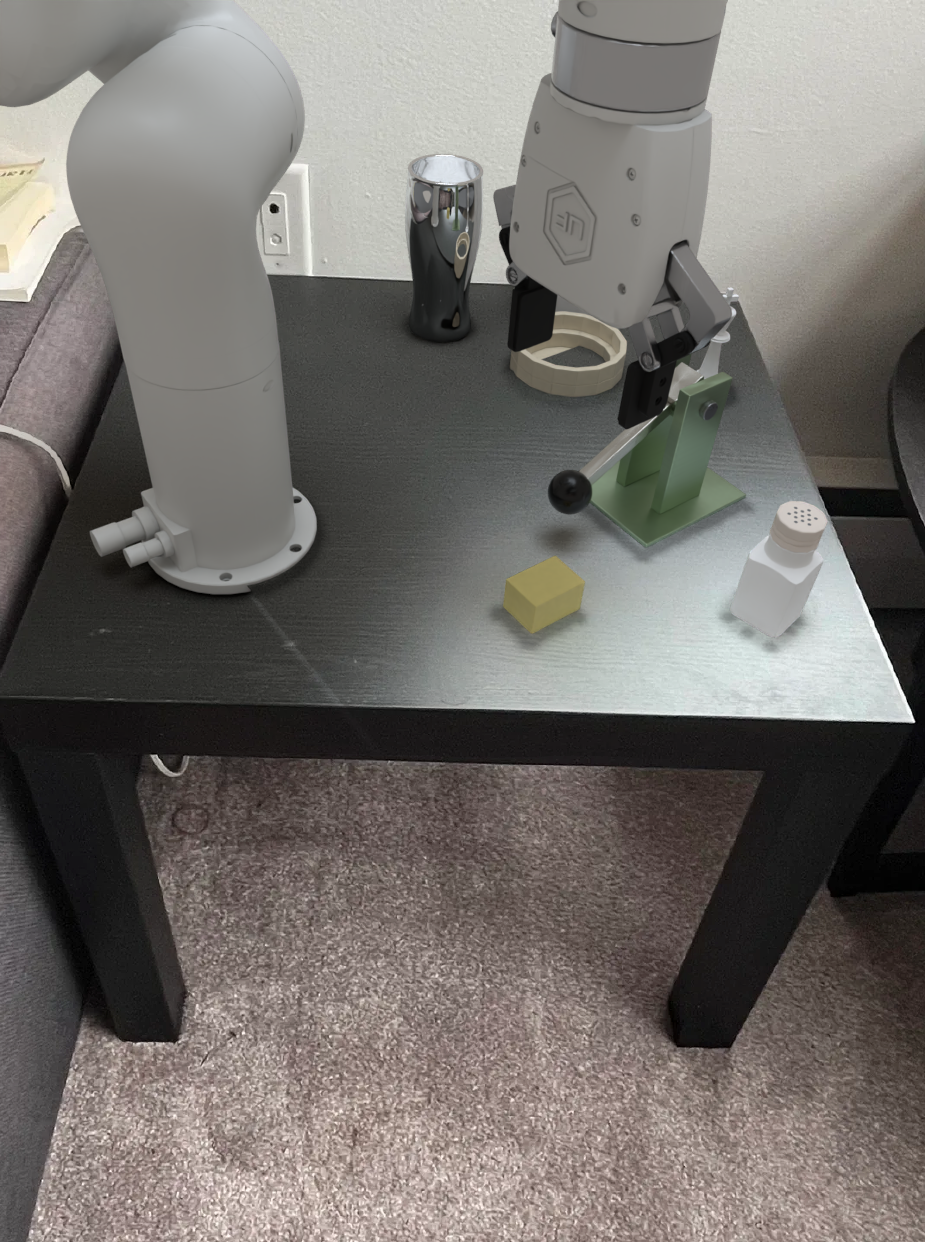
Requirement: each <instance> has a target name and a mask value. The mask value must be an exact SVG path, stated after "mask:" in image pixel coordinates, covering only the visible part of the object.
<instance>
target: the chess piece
mask: <svg viewBox="0 0 925 1242" xmlns="http://www.w3.org/2000/svg"><path fill="white" fill-rule="evenodd" d="M734 291H735V289H734V288H733V287H731V286H730V287H726V290H725V294H722V295H723V297H724V298H725V300H726V301H727V302H728V304H729V305H730V307H731V309H732V317H731V319H730V320H729V321H728V323H727V324H726V325H725V326H724V327H723V328H722V329H721V330H720V331H719V332H718V333H717V335H716V336H715V337H714V338H712V339H711V341H710V343H709V345H708V348H707V350H706V352H705V355H704V358H703V361H702V362H701V365H700V368H699V369H696V370H695V371H697V372H698V373H700V374H702V375H703V376H704V379H706V378H709V377H711V376H713V375H716V374H718V373H719V366H720V365H719V364H720V357H721V350H722V344H725V343H728V342H730V340H731V334H730V332H728V331H727V329H728V328H729V326H730V325H731V323H732V321H734V319H735V317H736V315H737V311H736V308H734V307H733V306H731V302H733V303H734V302H739V298H740V296H739V294H737V293H734Z"/></svg>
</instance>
